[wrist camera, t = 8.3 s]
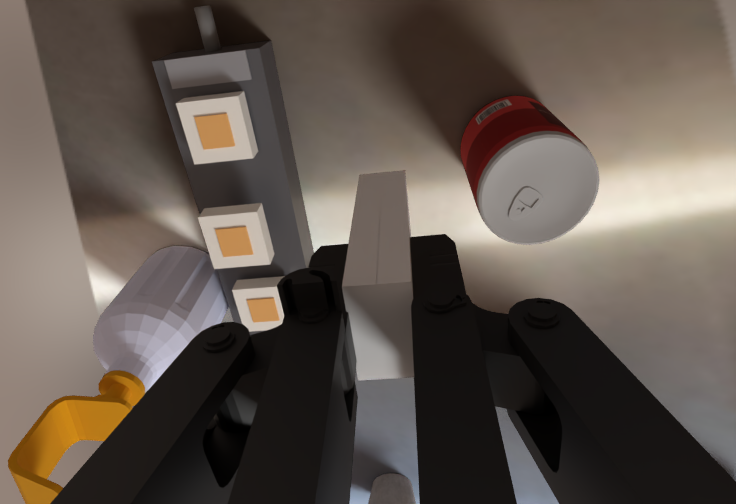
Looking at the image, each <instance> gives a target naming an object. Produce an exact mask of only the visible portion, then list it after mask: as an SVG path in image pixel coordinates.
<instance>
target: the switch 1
mask: <svg viewBox="0 0 736 504" xmlns="http://www.w3.org/2000/svg"><path fill="white" fill-rule="evenodd" d="M176 106H177V109H178V113H179V116H180V119H181V122H182V126H183V129H184V132H185V135H186V139H187V142H188V145H189V149H190V152H191V155H192V158H193V162H194V165H195V164H204V163H214V162H223V161H233V160H242V159H252V158H254V157H255V155H256V154H257V152H258V148H257V144H256V140H255V135H254V131H253V127H252V123H251V119H250V114H249V110H248V106H247V102H246V97H245V93H244V91H239V92H230V93H222V94H213V95H205V96H197V97H188V98H183V99H181V100H180V101H178V102H177V103H176Z"/></svg>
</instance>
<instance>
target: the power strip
mask: <svg viewBox="0 0 736 504" xmlns="http://www.w3.org/2000/svg"><path fill="white" fill-rule="evenodd" d="M194 11H195V15H196V18H197V22H198V26H199V30H200V34H201V37H202V41H203V45H204V49H200V50H192V51H184V52H176V53H171V54H169V55H167V56H164V57H162V58H159V59H157V60H155V61H152V64H153V68H154V71H155V74H156V77H157V80H158V83H159V87H160V90H161V93H162V96H163V99H164V102H165V106H166V109H167V112H168V115H169V118H170V121H171V125H172V128H173V131H174V134H175V137H176V140H177V143H178V147H179V150H180V153H181V156H182V159H183V162H184V166H185V169H186V172H187V175H188V178H189V181H190V185H191V188H192V191H193V194H194V197H195V200H196V204H197V207H198V210H199V213H200V214H201V212H202V211H203V210H204V208H214V207H224V206H235V205H245V204H255V203H262V206H263V210H264V214H265V218H266V222H267V226H268V230H269V234H270V238H271V242H272V246H273V250H274V257H273V259H272V262H271V264H270V265H258V266H246V267H234V268H222V269H217V270H218V273H219V276H220V280H221V283H222V286H223V289H224V292H225V295H226V299H227V302H228V305H229V308H230V311H231V314H232V318H233V321H234V322H236V323H240V324H242V321H241V318H240V315H239V312H238V308H237V305H236V302H235V299H234V295H233V292H232V289H233V287H234V285H235V283H236V281H237V280H244V279H256V278H268V277H281V276H286V275H288V274H289V273H291V272H294V271H296V270H299V269H303V268H309V267H308V266H309V263H310V259H311V256H312V255H313V254H314V251H313V246H312V241H311V236H310V231H309V226H308V221H307V216H306V211H305V206H304V201H303V197H302V192H301V187H300V182H299V177H298V172H297V167H296V162H295V157H294V152H293V147H292V142H291V137H290V132H289V127H288V122H287V117H286V112H285V107H284V102H283V97H282V92H281V87H280V82H279V77H278V72H277V67H276V62H275V58H274V53H273V48H272V43H271V40H270V41H262V42H254V43H247V44H239V45H231V46H223V47H221V45H220V41H219V37H218V33H217V29H216V25H215V21H214V17H213V13H212V9H211V5H208V6H201V7H195V8H194ZM239 91H244V93H245V97H246V102H247V106H248V110H249V114H250V119H251V123H252V127H253V131H254V135H255V140H256V144H257V148H258V152H257V154H256V155H255V157H254V158H252V159H242V160H233V161H223V162H214V163H204V164H195V165H194V162H193V158H192V155H191V152H190V149H189V145H188V142H187V139H186V135H185V132H184V129H183V126H182V122H181V119H180V116H179V113H178V109H177V106H176V103H177V102H178V101H180V100H181V99H183V98H188V97H197V96H205V95H213V94H222V93H230V92H239ZM265 331H267V330H265ZM260 332H263V331H251V332H249V333H250V335H253V334H256V333H260Z"/></svg>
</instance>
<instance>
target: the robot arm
mask: <svg viewBox="0 0 736 504" xmlns="http://www.w3.org/2000/svg"><path fill="white" fill-rule="evenodd" d="M308 267H309V268H303V269H299V270H296V271H294V272H291V273H289V274H288V275H286V276H285V277H283V278H282V279H281V280H280V281H279V283H278V284H277V289H278V293H279V297H280V301H281V305H282V308H283V312H284V319H283V322H282V324H281V325H279V326H277V327H275V328H272V329H270V330H267V331H263V332H260V333H256V334H253V335H250V333H249V329H248V328H247V327H246V326H244V325H243V324H240V323H236V322H225V323H220V324H216V325H213V326H211V327H209V328H207V329H205V330H203V331H201V332H200V333H199V334H198V335H196V336H195V337H194V338H193V339H192V340H191V341H190V343H189V344H188V345H187V346H186V347H185V348H184V350H183V351H182V352H181V353H180V354H179V355H178V356H177V358H176V359H175V360H174V361H173V362H172V363H171V365H170V366H169V367H168V368H167V369H166V370H165V372H164V373H163V374H162V375H161V376H160V377H159V378H158V380H157V381H156V382H155V383H154V384H153V385H152V387H151V388H150V389H149V390H148V391H147V392H146V393H145V395H144V396H143V397H142V398H141V399H140V400H139V402H138V403H137V404H136V405H135V406H134V407H133V408H132V410H131V411H130V412H129V413H128V414H127V415H126V417H125V418H124V419H123V420H122V421H121V422H120V423H119V425H118V426H117V427H116V428H115V429H114V430H113V432H112V433H111V434H110V435H109V436H108V437H107V439H106V440H105V441H104V442H103V443H102V444H101V445H100V447H99V448H98V449H97V450H96V451H95V453H94V454H93V455H92V456H91V457H90V458H89V459H88V460H87V462H86V463H85V464H84V465H83V466H82V467H81V469H80V470H79V471H78V472H77V473H76V474H75V475H74V477H73V478H72V479H71V480H70V481H69V482H68V484H67V485H66V486H65V487H64V488H63V489H62V490H61V492H60V493H59V494H58V495H57V496H56V497H55V499H54V500H53V501H52V502H51V503H50V504H349V501H350V488H351V475H352V462H353V450H354V437H355V424H356V411H357V399H358V396H357V391H356V385H355V373H356V370H357V376H358V380H375V379H392V378H409V377H414V385H415V407H416V429H417V451H418V473H419V495H420V504H517V503H516V498H515V494H514V489H513V485H512V480H511V476H510V471H509V467H508V462H507V458H506V453H505V449H504V444H503V440H502V436H501V431H500V427H499V422H498V418H497V413H496V409H495V406H497V407H501V408H506V409H507V412H508V415H509V417H510V419H511V421H512V423H513V424H514V426H515V428H516V429H517V431H518V433H519V435H520V436H521V438H522V440H523V442H524V443H525V445H526V447H527V448H528V450H529V452H530V454H531V455H532V457H533V459H534V461H535V462H536V464H537V466H538V468H539V469H540V471H541V473H542V474H543V476H544V478H545V480H546V481H547V483H548V485H549V487H550V488H551V490H552V492H553V493H554V495H555V497H556V499H557V500H558V502H559V504H736V482H735V480H734V479H733V478H732V477H731V476H730V475H729V474H728V473H727V472H726V471H725V470H724V469H723V468H722V467H721V466H720V465H719V464H718V463H717V462H716V461H715V459H714V458H713V457H712V456H711V455H710V454H709V453H708V452H707V451H706V450H705V449H704V448H703V447H702V446H701V445H700V444H699V443H698V442H697V441H696V440H695V439H694V437H693V436H692V435H691V434H690V433H689V432H688V431H687V430H686V429H685V428H684V427H683V426H682V425H681V424H680V423H679V422H678V421H677V420H676V419H675V418H674V417H673V415H672V414H671V413H670V412H669V411H668V410H667V409H666V408H665V407H664V406H663V405H662V404H661V403H660V402H659V401H658V400H657V399H656V398H655V397H654V396H653V395H652V393H651V392H650V391H649V390H648V389H647V388H646V387H645V386H644V385H643V384H642V383H641V382H640V381H639V380H638V379H637V378H636V377H635V376H634V375H633V374H632V373H631V371H630V370H629V369H628V368H627V367H626V366H625V365H624V364H623V363H622V362H621V361H620V360H619V359H618V358H617V357H616V356H615V355H614V354H613V353H612V352H611V351H610V349H609V348H608V347H607V346H606V345H605V344H604V343H603V342H602V341H601V340H600V339H599V338H598V337H597V336H596V335H595V334H594V333H593V332H592V331H591V330H590V328H589V327H588V326H587V325H586V324H585V323H584V322H583V321H582V320H581V319H580V318H579V317H578V316H577V315H576V314H575V313H574V312H573V311H572V310H571V309H570V308H568V307H567V306H566V305H564V304H562V303H560V302H557V301H554V300H551V299H542V298H534V299H526V300H523V301H521V302H518V303H516V304H515V305H514V306H513V307H512V308H510V311H509V314H503V313H496V312H491V311H487V310H484V309H482V308H479V307H478V306H476V305H474V304H473V303H472V302H471V300H470V298H469V297H468V295H467V294H466V291H465V286H464V282H463V277H462V273H461V268H460V263H459V259H458V255H457V250H456V245H455V242H454V241H453V240H451V239H450V238H449V237H448V236H447V235H446V234H442V235H430V236H419V237H411V229H410V218H409V207H408V196H407V184H406V173H405V170H403V171H393V172H383V173H373V174H363V175H359V181H358V188H357V194H356V200H355V207H354V213H353V219H352V226H351V232H350V238H349V244H341V245H329V246H321V247H320V248H319V249H318V250H317V251H316V252H315V253H314V254H313V255H312V256H311V259H310V263H309V266H308Z"/></svg>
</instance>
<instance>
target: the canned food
mask: <svg viewBox="0 0 736 504" xmlns="http://www.w3.org/2000/svg"><path fill="white" fill-rule="evenodd" d="M461 158H462V162H463V166H464V169H465V172H466V175H467V178H468V181H469V184H470V187H471V190H472V193H473V196H474V199H475V202H476V206H477V208H478V210H479V213H480V215H481V217H482V219H483V221H484V222H485V224H486V225H487V226H488V228H489V229H490V230H491V231H492V232H493V233H494V234H496V235H497V236H498V237H500V238H502V239H504V240H506V241H508V242H512V243H516V244H524V245H532V244H541V243H544V242H548V241H551V240H554V239H556V238H558V237H560V236H562V235H564V234H566V233H567V232H569V231H570V230H572V229H573V228H574V227H575V226H576V225H577V224H578V223H580V222H581V221H582V220H583V218H584V217H585V216H586V215H587V213H588V212H589V210H590V209H591V207H592V205H593V203H594V201H595V198H596V195H597V192H598V187H599V171H598V167H597V164H596V161H595V159H594V157H593V155H592V154H591V152H590V151H589V149H588V148H587V146H585V145H584V144H583V143H582V141H581V140H580V139H579V138H578V137H577V136H576V135H574V134H573V133H572V132H571V131H570V130H569V129H568V128H567V127H566V126H565V125H564V124H563V123H562V122H561V121H560V120H559V119H557V118H556V117H555V116H554V115H553V114H552V113H551V112H550V111H549V110H548V109H547V108H546V107H545V106H543V105H542V104H541V103H540V102H538V101H536V100H534V99H532V98H528V97H524V96H509V97H503V98H501V99H498V100H495V101H493V102H491V103H489V104H487V105H486V106H484V107H483V108H482V109H481V110H479V111H478V112H477V113H476V114H475V116H474V117H473V118H472V119H471V120H470V122H469V124H468V125H467V127H466V129H465V132H464V134H463V137H462V142H461Z"/></svg>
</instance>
